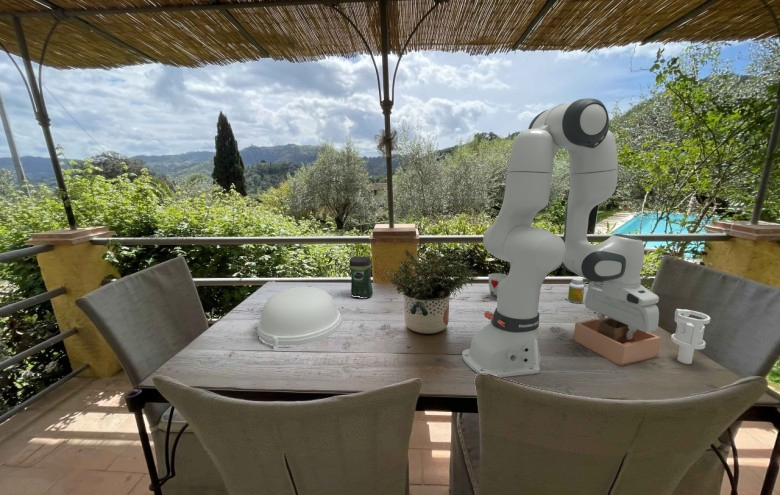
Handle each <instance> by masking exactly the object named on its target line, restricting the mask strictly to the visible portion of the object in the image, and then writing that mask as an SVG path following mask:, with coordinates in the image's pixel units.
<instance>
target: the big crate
mask: <svg viewBox="0 0 780 495" xmlns="http://www.w3.org/2000/svg"><path fill="white" fill-rule="evenodd" d="M605 318H606V319H610V318H609V317H607V316H605ZM598 321H600V320H599V318H598V317H597V318H591V319H587V320H582V321H577V322H575V323H574V335H573V342H576V343H578V344H579V345H582V346H584V347H585V348H587V349H589V350H591V351H593V352H594V353H596V354H598V355H600V356H601V357H604V358H605V359H608V360H609V361H612V362H613V363H615V364H616V365H618V366H620V367H626V366H630V365H633V364H636V363H640V362H643V361H647V360H651V359H653V358H658V357H659V352H660V345H661V338H662V337H661V336H658V335H657V334H653V333H652V332H643V331H641V330H637V331H636V334H635V340H634V341H630V342H627V343H623V344H621V343H619V342H617V341H615V340H613V339H611V338H609V337H607V336H605V335H603V334H600V333H598V332H597V324H598Z"/></svg>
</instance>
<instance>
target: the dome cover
mask: <svg viewBox="0 0 780 495" xmlns="http://www.w3.org/2000/svg"><path fill="white" fill-rule="evenodd" d="M260 315H261V316H260V321H258V325H257V328H256V329H257V337H258V336H259V337H260V338H261V339H262V340H264V341H265V342H267V343H270V344H273V346H278V345H284V346H285V345H288V346H289V345H301V344H307V343H312V342H315V341H319V340H322V339H324V338H326V337H328V336H330V335H332V334H333V333H335V332H336V331H337V330H338V329H339V328H340V326H341V324H342V325H343V320H342V315H341V312H340V311H339V310H338V308H337V305H336V302H335V300H334V298H333V296H331V294H330V293H329V292H327V291H326V290H324V289H321V288H320V287H315V286H297V287H296V286H295V287H291V288H287V289H283V290H280V291H278V292H276V293H274V294H273V295H272V296H270V297H269V298H268V299H267V300H266V302H265V303H264V305H263V308H262V310H261V314H260Z"/></svg>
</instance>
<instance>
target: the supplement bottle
mask: <svg viewBox="0 0 780 495" xmlns="http://www.w3.org/2000/svg"><path fill="white" fill-rule="evenodd" d="M583 283H584V278H583V277H576V276H575V277H572V278H571V282H569V285H568V294H567V295H568V296H567V301H568V302H570V303H573V304H581V303H584V302H583V301H584V294H585V293H584V292H585V285H584V284H583Z"/></svg>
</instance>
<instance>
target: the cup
mask: <svg viewBox="0 0 780 495" xmlns="http://www.w3.org/2000/svg"><path fill="white" fill-rule="evenodd" d="M507 276H508V274H504V273H496V272H495V273H489V274H488V287H489V293H490V298H491V299H492V300H494V301H497V290H498V284H499V282H500V281H501V280H503V279H504V278H506V277H507Z"/></svg>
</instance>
